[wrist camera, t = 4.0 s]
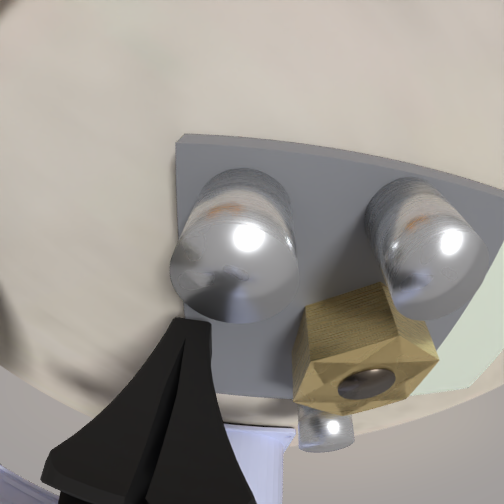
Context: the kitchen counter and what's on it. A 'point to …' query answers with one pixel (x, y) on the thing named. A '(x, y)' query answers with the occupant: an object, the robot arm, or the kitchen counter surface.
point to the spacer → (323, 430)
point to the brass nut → (359, 353)
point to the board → (340, 257)
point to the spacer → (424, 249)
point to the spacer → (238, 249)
